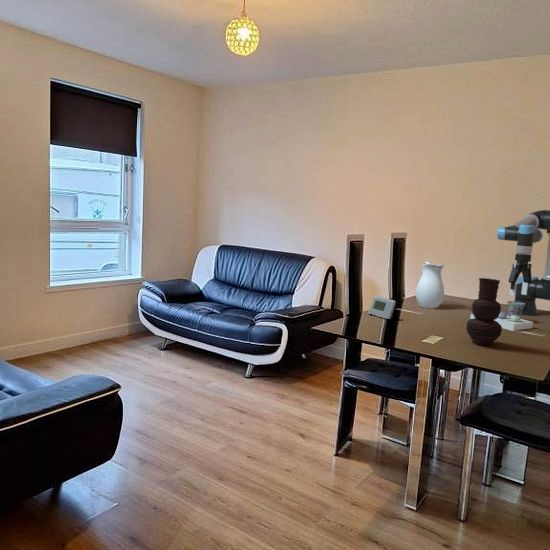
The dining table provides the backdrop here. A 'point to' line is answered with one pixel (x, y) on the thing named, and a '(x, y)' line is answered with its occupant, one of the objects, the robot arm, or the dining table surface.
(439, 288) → the pitcher
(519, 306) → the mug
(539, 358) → the dining table surface
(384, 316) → the digital clock
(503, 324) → the panel
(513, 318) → the sage button
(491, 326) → the vase
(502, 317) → the slate button
